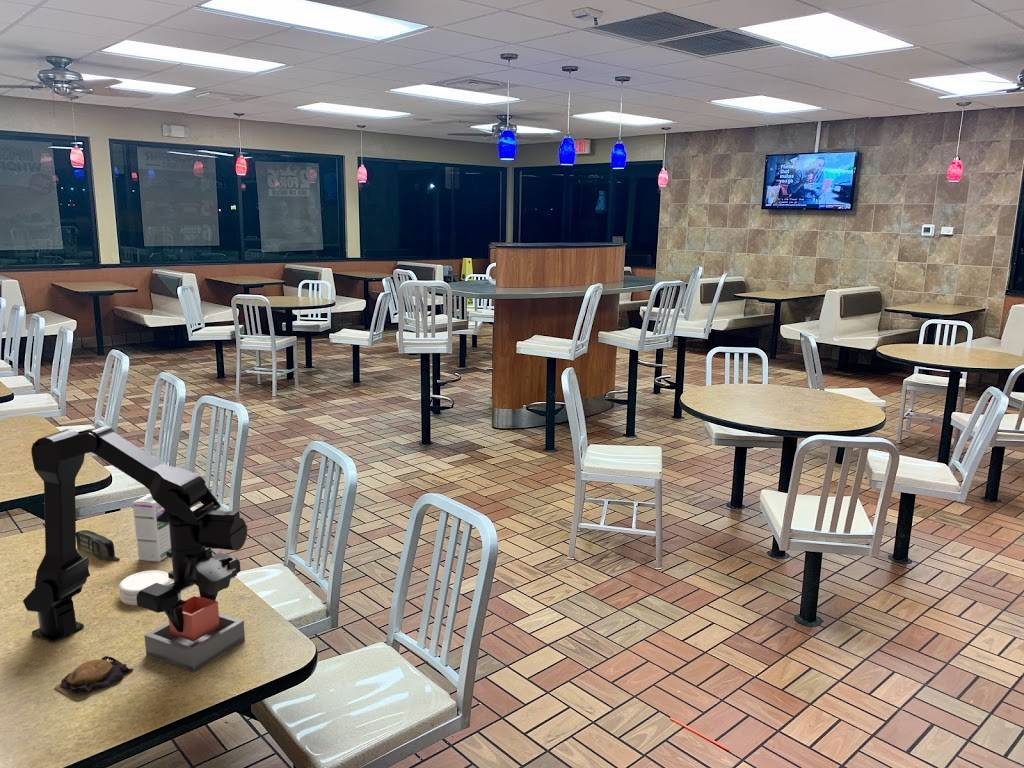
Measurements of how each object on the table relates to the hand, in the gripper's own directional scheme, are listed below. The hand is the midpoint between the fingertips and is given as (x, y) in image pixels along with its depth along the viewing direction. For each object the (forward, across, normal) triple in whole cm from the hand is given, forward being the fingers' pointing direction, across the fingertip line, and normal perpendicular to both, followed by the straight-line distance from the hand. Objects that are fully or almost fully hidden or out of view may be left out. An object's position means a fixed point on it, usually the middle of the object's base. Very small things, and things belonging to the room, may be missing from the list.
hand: (194, 623), depth 141 cm
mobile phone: (+5, +18, +53) cm, 56 cm away
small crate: (+1, 0, 0) cm, 1 cm away
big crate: (+5, 0, 0) cm, 5 cm away
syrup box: (+5, +24, +40) cm, 47 cm away
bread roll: (+6, -15, +7) cm, 18 cm away
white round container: (+5, +10, +26) cm, 28 cm away
